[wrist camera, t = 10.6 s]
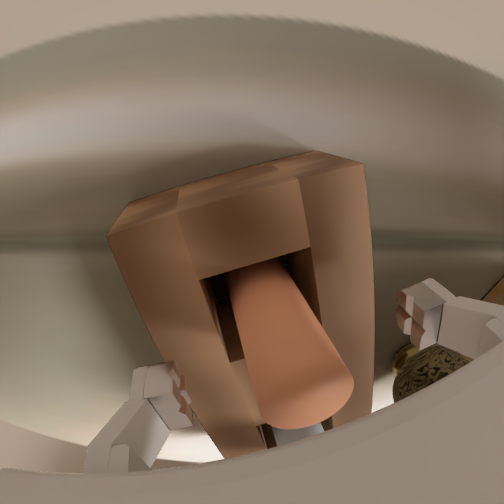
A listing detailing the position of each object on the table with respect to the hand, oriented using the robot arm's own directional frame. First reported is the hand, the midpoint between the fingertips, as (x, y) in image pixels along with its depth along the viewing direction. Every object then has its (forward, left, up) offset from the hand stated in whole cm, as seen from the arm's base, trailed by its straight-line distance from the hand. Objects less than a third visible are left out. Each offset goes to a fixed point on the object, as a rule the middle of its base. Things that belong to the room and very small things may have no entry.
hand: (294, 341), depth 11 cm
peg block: (0, +5, -8) cm, 9 cm away
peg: (0, +1, -8) cm, 8 cm away
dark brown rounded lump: (-11, +13, -8) cm, 19 cm away
